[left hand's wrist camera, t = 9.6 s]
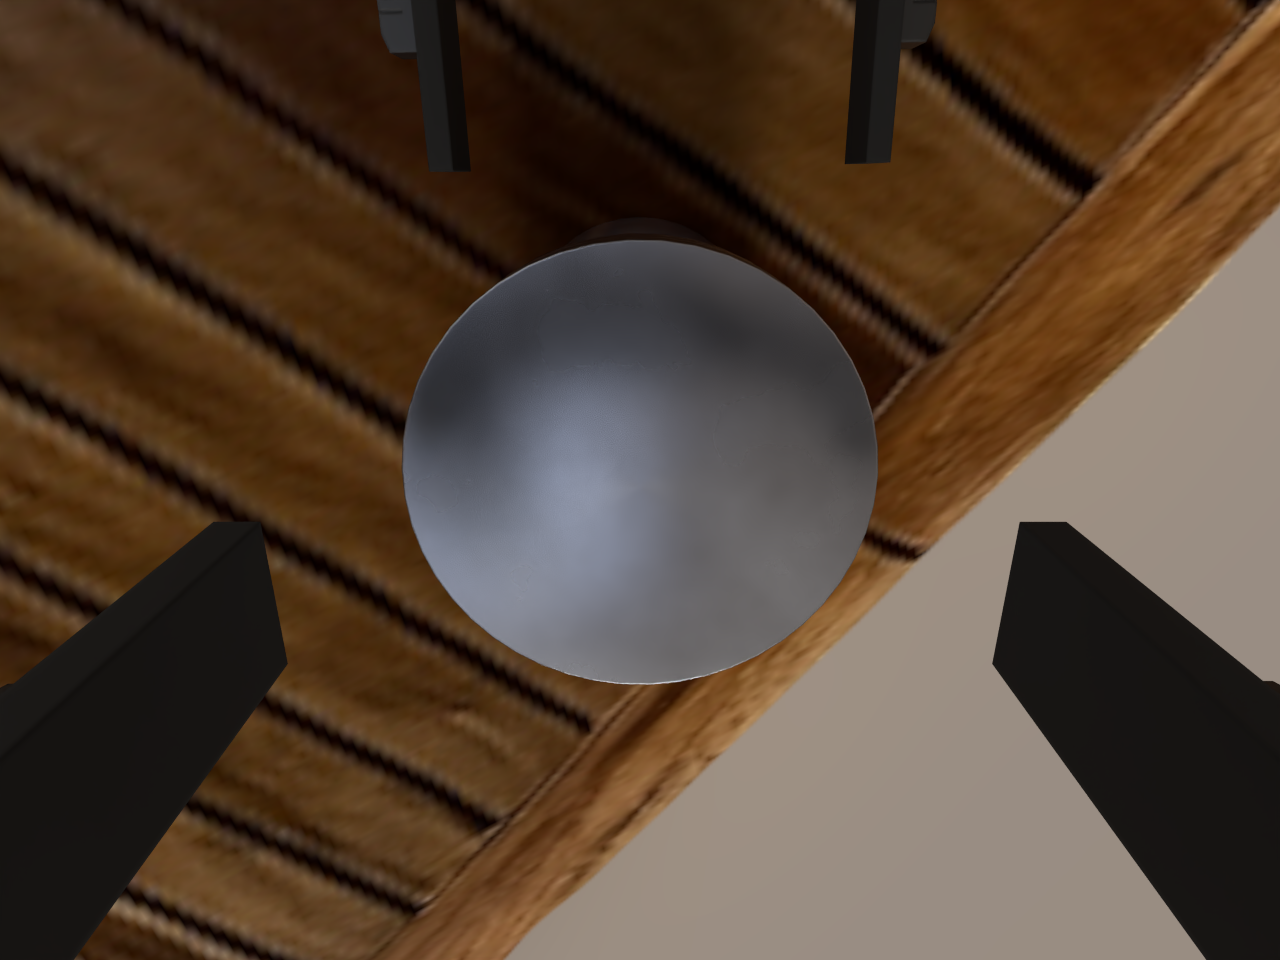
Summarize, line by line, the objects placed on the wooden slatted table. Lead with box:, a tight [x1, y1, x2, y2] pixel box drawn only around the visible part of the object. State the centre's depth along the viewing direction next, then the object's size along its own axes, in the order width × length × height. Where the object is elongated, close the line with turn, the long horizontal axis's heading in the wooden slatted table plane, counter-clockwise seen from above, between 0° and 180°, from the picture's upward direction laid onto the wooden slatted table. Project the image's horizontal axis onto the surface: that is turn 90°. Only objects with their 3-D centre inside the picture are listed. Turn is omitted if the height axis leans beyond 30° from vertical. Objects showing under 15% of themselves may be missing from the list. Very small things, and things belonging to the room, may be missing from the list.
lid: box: [402, 233, 878, 684], centre depth 18 cm, size 11×11×2 cm
